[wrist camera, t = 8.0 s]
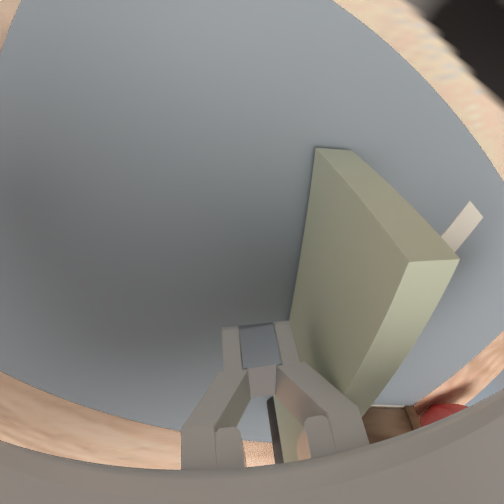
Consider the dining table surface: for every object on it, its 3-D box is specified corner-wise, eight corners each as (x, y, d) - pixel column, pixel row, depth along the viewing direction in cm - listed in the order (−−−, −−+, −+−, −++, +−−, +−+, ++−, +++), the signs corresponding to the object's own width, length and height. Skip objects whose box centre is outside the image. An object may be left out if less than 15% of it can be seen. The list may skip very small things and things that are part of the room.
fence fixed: (261, 404, 19) (273, 497, 13) (276, 392, 18) (293, 491, 12) (400, 414, 25) (419, 470, 19) (414, 405, 24) (435, 462, 18)
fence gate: (292, 395, 18) (308, 476, 13) (273, 396, 18) (286, 479, 13) (351, 150, 9) (459, 258, 5) (315, 147, 9) (408, 261, 4)
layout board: (-2, 364, 16) (-4, 369, 15) (81, -86, 3) (76, -90, 3) (348, 440, 28) (349, 443, 28) (546, 274, 16) (550, 278, 16)
